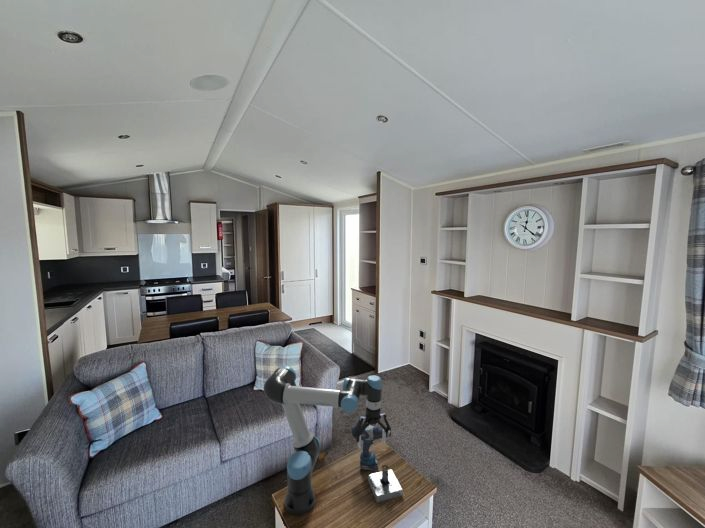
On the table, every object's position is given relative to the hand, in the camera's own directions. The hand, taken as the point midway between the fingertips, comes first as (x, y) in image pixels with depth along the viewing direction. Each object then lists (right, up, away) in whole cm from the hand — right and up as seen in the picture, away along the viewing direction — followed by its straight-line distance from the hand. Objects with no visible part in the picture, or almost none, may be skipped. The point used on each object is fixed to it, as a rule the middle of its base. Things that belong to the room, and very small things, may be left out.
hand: (371, 444), depth 162 cm
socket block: (+7, -25, +4) cm, 26 cm away
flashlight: (+7, -25, +4) cm, 26 cm away
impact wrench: (+1, -23, +18) cm, 30 cm away
